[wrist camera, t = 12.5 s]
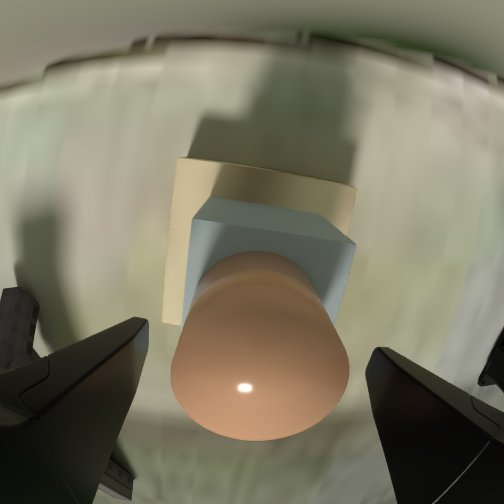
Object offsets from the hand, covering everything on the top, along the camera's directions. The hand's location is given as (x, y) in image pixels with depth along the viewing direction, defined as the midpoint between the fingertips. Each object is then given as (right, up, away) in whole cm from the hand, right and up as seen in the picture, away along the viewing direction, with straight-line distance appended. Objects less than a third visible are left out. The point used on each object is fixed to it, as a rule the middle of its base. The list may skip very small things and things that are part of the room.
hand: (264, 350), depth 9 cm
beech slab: (0, +3, +10) cm, 10 cm away
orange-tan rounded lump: (0, +1, +2) cm, 3 cm away
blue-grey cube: (0, +2, +8) cm, 8 cm away
